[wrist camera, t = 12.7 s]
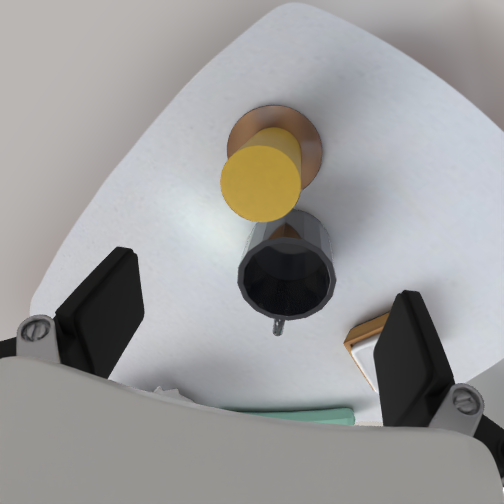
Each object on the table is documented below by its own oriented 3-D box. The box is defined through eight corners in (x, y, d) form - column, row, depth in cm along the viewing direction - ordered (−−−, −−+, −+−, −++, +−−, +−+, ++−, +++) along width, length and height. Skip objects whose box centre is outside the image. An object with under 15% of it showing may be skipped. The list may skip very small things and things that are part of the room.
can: (287, 118, 30) (280, 131, 20) (309, 167, 32) (313, 206, 22) (238, 140, 32) (206, 165, 22) (261, 186, 34) (241, 233, 24)
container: (357, 432, 45) (213, 436, 50) (354, 436, 49) (223, 440, 54) (355, 400, 49) (216, 406, 54) (353, 407, 53) (225, 412, 58)
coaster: (298, 90, 29) (298, 90, 29) (336, 176, 33) (336, 178, 32) (212, 129, 32) (210, 129, 32) (252, 208, 36) (251, 210, 36)
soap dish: (340, 325, 42) (343, 351, 38) (405, 295, 38) (415, 319, 34) (371, 374, 46) (375, 398, 42) (427, 350, 42) (435, 374, 38)
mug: (252, 203, 36) (240, 231, 29) (337, 215, 35) (344, 245, 28) (244, 298, 42) (234, 337, 36) (316, 308, 41) (317, 348, 35)
